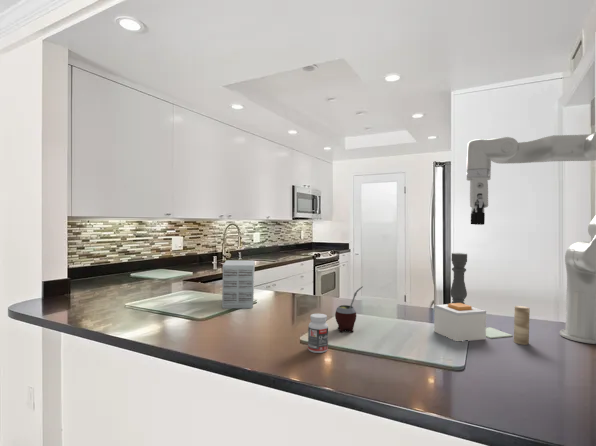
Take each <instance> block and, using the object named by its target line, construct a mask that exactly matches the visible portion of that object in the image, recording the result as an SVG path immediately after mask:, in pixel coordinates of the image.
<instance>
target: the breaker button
mask: <svg viewBox="0 0 596 446" xmlns="http://www.w3.org/2000/svg"><path fill="white" fill-rule="evenodd" d="M447 304H448V307H449V308H452V309H455V310H458V311H462V310H472V307H473V306H472V305H468V304H466V303H465V304H463V303H452V302H450V303H447Z"/></svg>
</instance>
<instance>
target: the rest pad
mask: <svg viewBox="0 0 596 446" xmlns="http://www.w3.org/2000/svg"><path fill="white" fill-rule="evenodd" d="M510 337H513V334H511V333H508V332H505V331H501V330H499V329H497V328H494V327H490V326H489V327H486V338H488V339H500V338H501V339H502V338H510Z"/></svg>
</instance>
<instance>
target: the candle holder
mask: <svg viewBox="0 0 596 446" xmlns="http://www.w3.org/2000/svg"><path fill="white" fill-rule="evenodd" d="M451 263H452V266H453V267H452V268H451V271H452V272H453V280H452V283H451V286H450V287H451V288H450V292H449V293H450V297H451V298H452V301H451V303H463V304H466V302H465V299H466V298H467V296H468V292H467V287H466V282H465V274H466V272H467V268H466V265H467V263H468V253H465V252H451Z"/></svg>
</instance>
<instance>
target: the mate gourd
mask: <svg viewBox="0 0 596 446" xmlns="http://www.w3.org/2000/svg"><path fill="white" fill-rule="evenodd" d="M363 287H364V286H361V287H359V288H358V289H357V290H356V291H355V292H354V294H353V297H352V299H351V303H350V305H345V304H343V305H338V307H336V309H335V314H334V315H335V320H336V321H335V322H336V324H337V325H338V326H337V329H338V330H339V333H341V334H342V333H345V332H349V333H351V334H353V333H354V332H355V331H354V327H355V323H356V320H357V311H356V309H355V308H354V306H353V305H354V301H355V299H356V296H357V294H358V292H359V291H360V290H361V289H362V288H363Z"/></svg>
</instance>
